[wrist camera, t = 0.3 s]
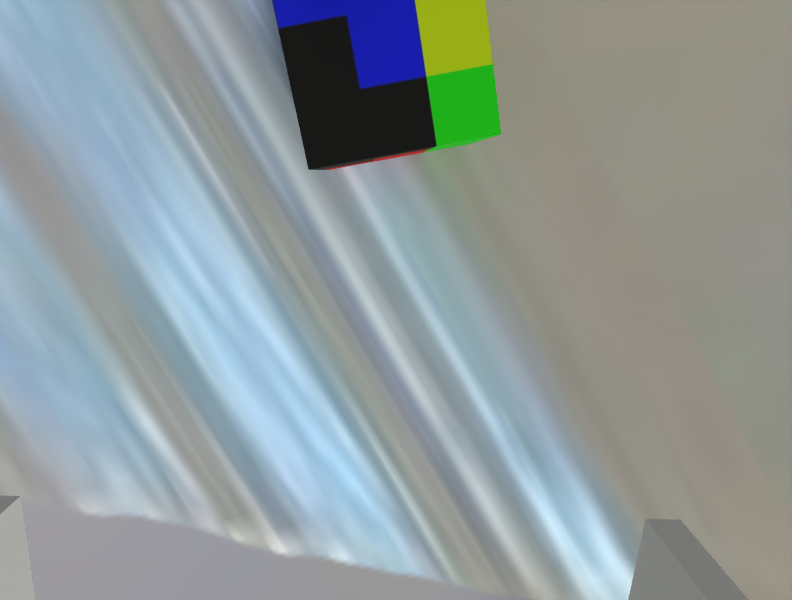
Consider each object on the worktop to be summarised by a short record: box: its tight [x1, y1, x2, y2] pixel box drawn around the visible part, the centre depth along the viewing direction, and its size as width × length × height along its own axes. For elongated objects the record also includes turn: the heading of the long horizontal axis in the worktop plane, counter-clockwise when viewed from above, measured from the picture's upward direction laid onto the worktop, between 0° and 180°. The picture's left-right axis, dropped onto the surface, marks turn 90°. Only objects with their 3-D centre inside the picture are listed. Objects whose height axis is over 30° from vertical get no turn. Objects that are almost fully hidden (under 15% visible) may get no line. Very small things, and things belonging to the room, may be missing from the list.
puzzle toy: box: [272, 0, 501, 170], centre depth 29 cm, size 10×10×10 cm
